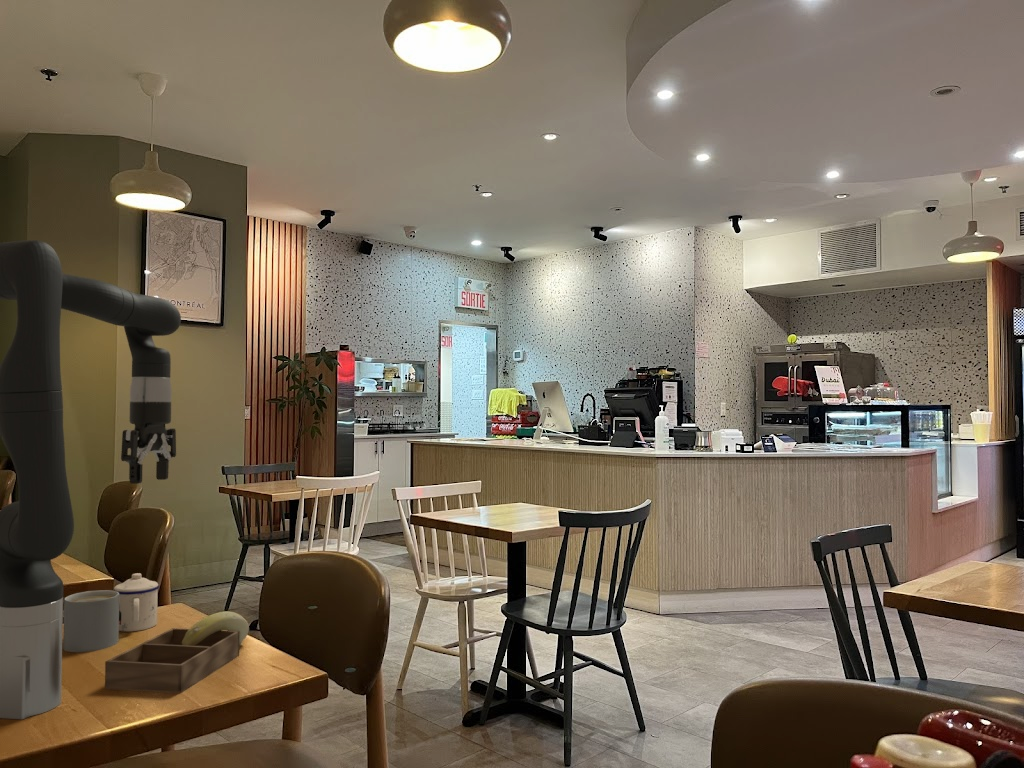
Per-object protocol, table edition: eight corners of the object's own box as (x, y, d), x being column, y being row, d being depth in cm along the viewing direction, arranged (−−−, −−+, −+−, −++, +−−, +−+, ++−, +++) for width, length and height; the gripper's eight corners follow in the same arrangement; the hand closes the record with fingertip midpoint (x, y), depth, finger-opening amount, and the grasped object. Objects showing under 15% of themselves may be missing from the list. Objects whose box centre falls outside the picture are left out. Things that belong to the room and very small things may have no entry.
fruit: (190, 607, 144) (201, 613, 142) (250, 610, 156) (260, 615, 155) (176, 645, 143) (187, 651, 141) (238, 644, 155) (248, 650, 154)
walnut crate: (181, 695, 128) (181, 665, 128) (104, 690, 130) (105, 661, 130) (239, 657, 148) (239, 631, 148) (171, 653, 150) (172, 628, 150)
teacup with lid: (113, 623, 170) (114, 571, 171) (157, 618, 174) (158, 568, 175) (111, 638, 160) (112, 583, 160) (158, 632, 164) (159, 578, 164)
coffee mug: (121, 646, 154) (122, 597, 154) (65, 655, 148) (66, 604, 149) (112, 630, 165) (113, 584, 165) (59, 638, 159) (60, 591, 160)
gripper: (146, 399, 143) (144, 485, 143) (188, 400, 158) (187, 478, 157) (109, 399, 144) (108, 484, 144) (155, 400, 159) (153, 477, 158)
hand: (149, 481), depth 151 cm, fingers open, 8 cm apart
